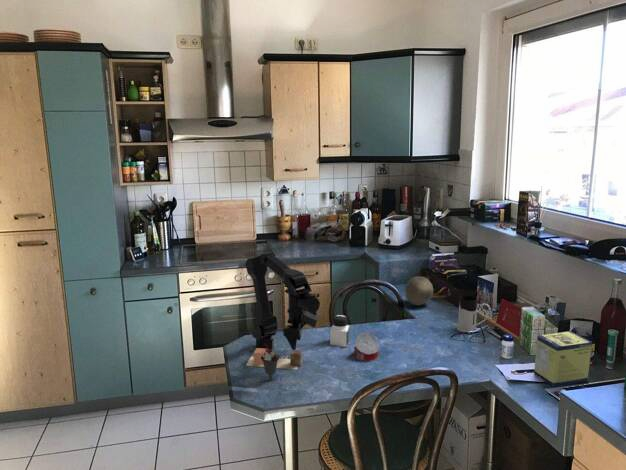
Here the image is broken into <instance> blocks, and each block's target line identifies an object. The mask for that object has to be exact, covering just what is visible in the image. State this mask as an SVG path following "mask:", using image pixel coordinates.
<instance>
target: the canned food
mask: <svg viewBox="0 0 626 470" xmlns="http://www.w3.org/2000/svg"><path fill="white" fill-rule="evenodd" d="M354 343H355V344H354V348H353V350H354V351H353V356H354V358H356V359H357V360H360V361H363V362H364V361H365V362H369V361H375V360H377V359H378V358H379V349H380V344H379V341H378V339H377V338H376V337H375V335H374V334H372V333H371V332H367V331H366V332H362V333H361V334H359V335H357V336H356V338H355V342H354Z"/></svg>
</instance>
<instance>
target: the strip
mask: <svg viewBox="0 0 626 470" xmlns="http://www.w3.org/2000/svg"><path fill="white" fill-rule="evenodd" d="M302 365H303V351H302V350H291V351H290V354H289V358H280V357H279V360H278V361H277V368H276V369H285V370H286V369H288V370H298V368H299V367H302ZM245 366H246V367H248V366H249V367H261V368H262V367H263V368H264V365H263V364H254V355H252V356H250V358H249V359H248V361H247V363H246V365H245Z"/></svg>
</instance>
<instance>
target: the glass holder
mask: <svg viewBox="0 0 626 470" xmlns="http://www.w3.org/2000/svg"><path fill="white" fill-rule="evenodd" d="M458 304H459V305H458V319H457V320H458V321H457V326H456V330H457V331H459V332H462V333H465V332H468V331H471V330H475V329H476V330H477V326H478V325H480V324H481V323H483V322H485V321H486V320H487V319H488V318H489V317H490V314H491V312H490V311H491V307H490V305H489V304H488V303H482V304H481V305H480V306H479V310H478V309H477V307H478V306H477V305H478V297H476V296H474V295H470V294H469V295H467V294H465V295H464V294H463V295H461V296H460V297H459V303H458ZM483 305H485V306H487V308H488V314H487V316H486V318H484V319H483V320H482V321H480V322H478V323H477V316H478V315H477V313H480V312H481V310H482V306H483Z"/></svg>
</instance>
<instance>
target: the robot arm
mask: <svg viewBox="0 0 626 470" xmlns="http://www.w3.org/2000/svg"><path fill="white" fill-rule="evenodd" d="M245 268H246V271H247V275H248V276H250V278H251V279H252V284H253V290H254V296H255V300H256V301H255V302H256V307H257V313H258V314H257V316H256V319H255V328H254V329H253V330H252V331H251V334H252V335H251V336H252V338H254V339H255V346H256V348H263V349H267V346H268V349H270V350H273V349H274V347H275V345H274V344H275V340H274V338H273V336H276V335H277V331H278V327H279V324H278V319H277V318H278V317H277V316H276V315H274V314H273V313H272V312H271V305H270V302H269V294H268V289H267V283H266V275H267V273H268V269H270V270H271V271H272V272H274V273H275V274H276V275H277V276H278V277H280V278H281V279H282V284H283V285H284V286H285V287H286V289H285V290H284V293H286V294H288V295H287V296H288V297H287V298H288V299H287V301H288V303H287V304H288V309H287V311H286V312H287V314H288V319H287V325H285V326H284V328H283V331H282V335H283V337H284V338H286V340H287V343H288V344H289V346H290V347H291V349H292V350H295V351H297V350H296V349H297V343H298V341H301V338H302V334H303V329H304V326H306V325H308V326H309V327H311V328H315V327H316V325H317V324H318V321H319V319H320V316H319V314H318V310H319V309H320V306H321V302H320V299H318V298H317V297H316V294H315V293H310V292H312V288H311V285H310V283H309V281H308V279H307V277H306V275H305V274H304V272H302V271H300V270H297V269H294V268H291V267H289V266H288V265H287V264H286V263H284V262H283V261H282V260H280V259H279V258H278V257H277V256H276V255H275V254H274V253H273V252H265V253H264V252H263V253H261V254H259V255H258V256H253V257H249V258H247V259H246V261H245ZM265 344H266V345H267V346H266V345H265ZM256 348H255V349H256ZM292 350H291V351H292Z"/></svg>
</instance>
